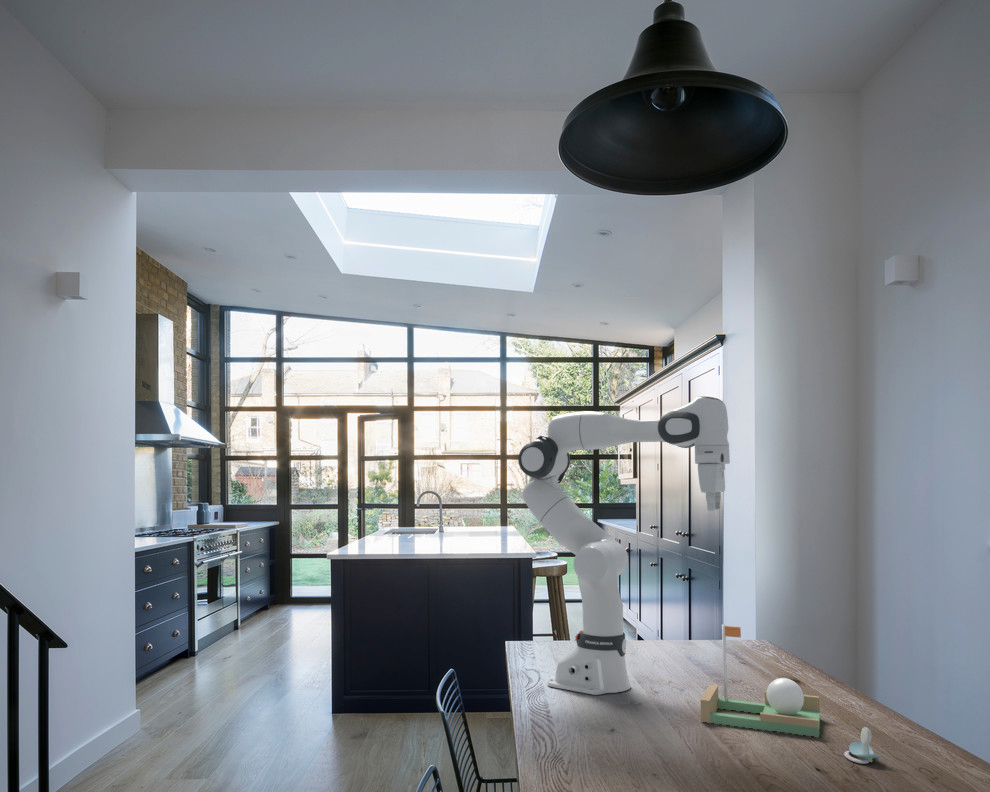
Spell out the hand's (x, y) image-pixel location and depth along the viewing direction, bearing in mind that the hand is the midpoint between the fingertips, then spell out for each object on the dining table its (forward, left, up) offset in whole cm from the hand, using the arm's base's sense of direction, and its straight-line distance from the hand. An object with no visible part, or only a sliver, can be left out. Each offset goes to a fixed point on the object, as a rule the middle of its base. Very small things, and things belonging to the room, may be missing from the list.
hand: (714, 510), depth 193 cm
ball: (+16, -13, -42) cm, 47 cm away
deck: (+11, -13, -48) cm, 51 cm away
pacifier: (+31, -30, -48) cm, 65 cm away
